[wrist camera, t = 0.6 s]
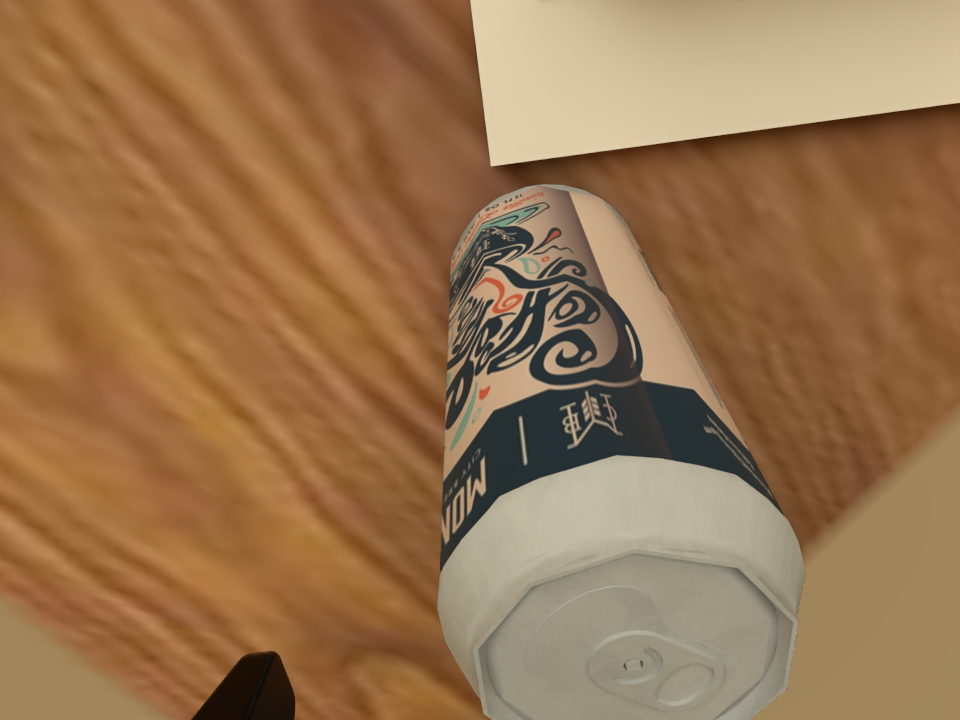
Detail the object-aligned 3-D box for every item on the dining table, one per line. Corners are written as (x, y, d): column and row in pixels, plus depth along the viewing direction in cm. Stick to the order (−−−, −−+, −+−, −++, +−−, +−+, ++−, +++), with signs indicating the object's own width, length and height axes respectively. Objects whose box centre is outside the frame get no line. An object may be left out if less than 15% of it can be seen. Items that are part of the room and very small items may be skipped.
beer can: (512, 140, 18) (581, 452, 7) (673, 235, 19) (926, 614, 9) (417, 300, 20) (366, 719, 9) (568, 376, 21) (670, 818, 11)
